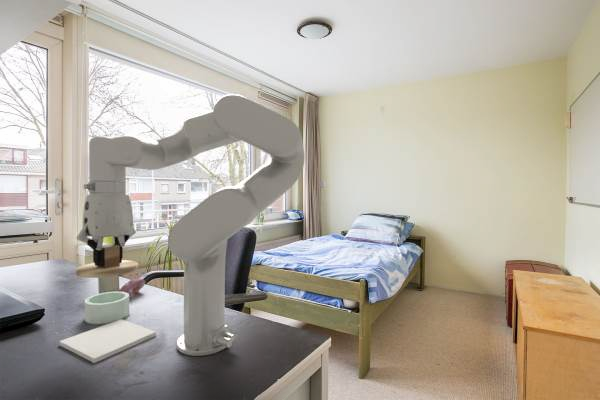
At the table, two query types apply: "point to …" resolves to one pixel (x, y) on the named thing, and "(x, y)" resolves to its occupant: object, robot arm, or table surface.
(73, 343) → the mat
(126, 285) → the video game controller
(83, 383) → the table surface
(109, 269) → the lid
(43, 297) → the table surface
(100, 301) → the bowl
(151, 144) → the robot arm
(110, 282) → the skincare box
